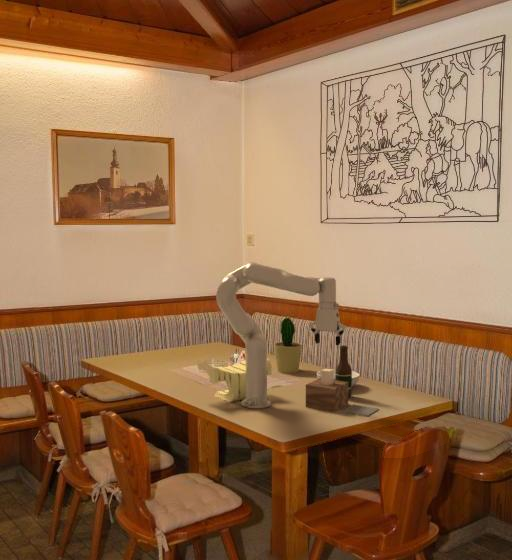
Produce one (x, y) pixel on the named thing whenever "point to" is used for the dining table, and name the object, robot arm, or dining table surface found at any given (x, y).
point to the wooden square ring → (327, 395)
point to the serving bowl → (354, 376)
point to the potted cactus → (287, 349)
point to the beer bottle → (344, 369)
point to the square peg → (327, 376)
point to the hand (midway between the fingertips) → (327, 343)
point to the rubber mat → (360, 410)
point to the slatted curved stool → (230, 379)
